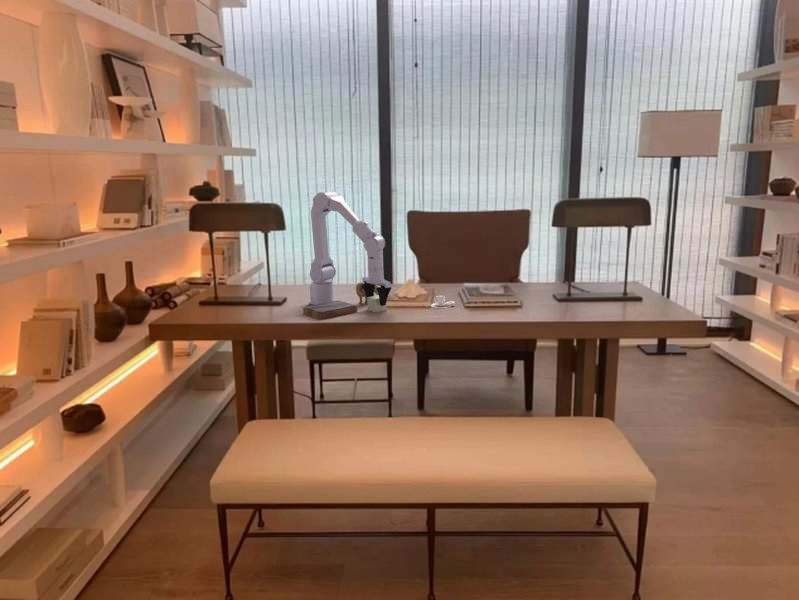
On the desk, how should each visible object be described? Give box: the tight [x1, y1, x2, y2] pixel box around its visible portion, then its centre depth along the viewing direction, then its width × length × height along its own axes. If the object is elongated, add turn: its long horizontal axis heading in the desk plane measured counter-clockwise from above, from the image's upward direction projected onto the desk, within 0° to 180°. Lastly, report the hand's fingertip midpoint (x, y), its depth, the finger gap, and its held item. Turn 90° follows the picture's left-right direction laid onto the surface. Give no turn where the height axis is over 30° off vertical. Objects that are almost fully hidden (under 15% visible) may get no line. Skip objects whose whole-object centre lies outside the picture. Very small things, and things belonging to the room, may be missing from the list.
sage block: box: [366, 294, 387, 313], centre depth 237 cm, size 5×5×5 cm
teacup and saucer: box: [430, 294, 456, 309], centre depth 242 cm, size 9×8×4 cm
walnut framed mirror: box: [302, 300, 358, 321], centre depth 235 cm, size 12×16×2 cm
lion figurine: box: [355, 281, 379, 305], centre depth 250 cm, size 15×5×9 cm, turn 152°
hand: (376, 303), depth 237 cm, fingers open, 7 cm apart
